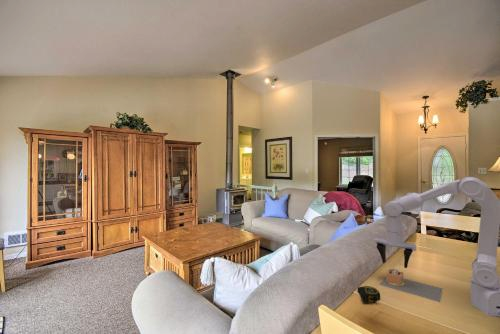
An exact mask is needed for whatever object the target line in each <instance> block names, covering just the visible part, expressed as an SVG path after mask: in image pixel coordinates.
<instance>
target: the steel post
mask: <svg viewBox="0 0 500 334" xmlns="http://www.w3.org/2000/svg"><path fill="white" fill-rule="evenodd" d="M391 270H392V274H394V275H398V271H399V270H398V269H396V268H395V269H394V268H393V269H391Z"/></svg>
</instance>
